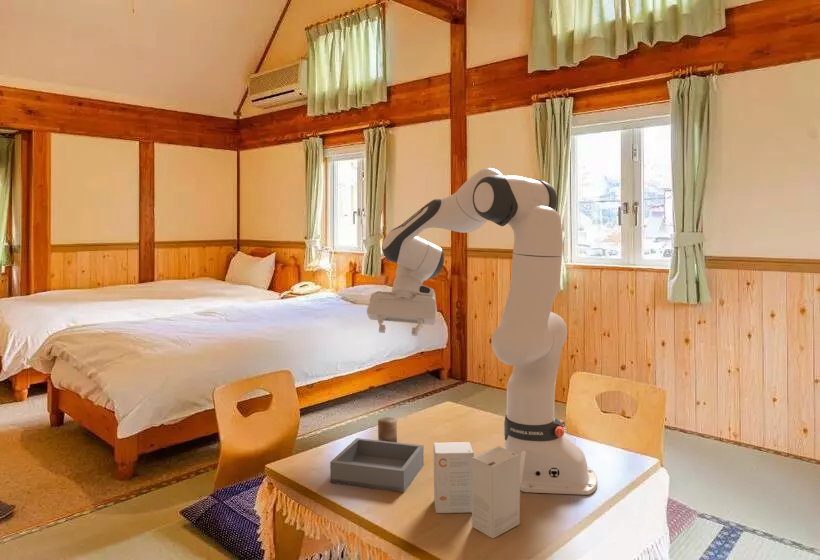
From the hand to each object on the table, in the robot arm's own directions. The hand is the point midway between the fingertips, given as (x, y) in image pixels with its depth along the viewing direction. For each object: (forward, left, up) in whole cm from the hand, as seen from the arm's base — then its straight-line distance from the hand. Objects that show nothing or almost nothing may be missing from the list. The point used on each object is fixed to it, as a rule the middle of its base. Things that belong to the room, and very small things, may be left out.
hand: (397, 333), depth 162 cm
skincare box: (-34, +42, -30) cm, 62 cm away
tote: (-3, +25, -30) cm, 39 cm away
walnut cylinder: (0, +10, -30) cm, 32 cm away
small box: (-24, +36, -30) cm, 53 cm away
